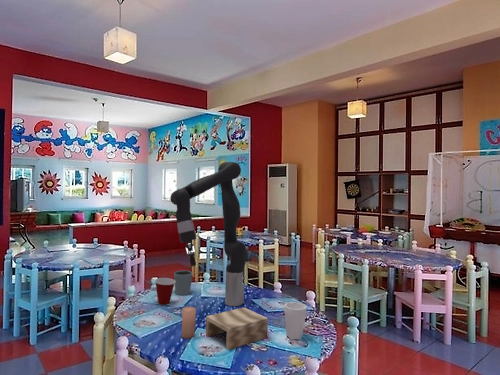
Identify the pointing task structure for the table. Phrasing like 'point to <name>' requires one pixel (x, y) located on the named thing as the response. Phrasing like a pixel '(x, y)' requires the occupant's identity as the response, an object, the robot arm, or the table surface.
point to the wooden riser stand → (238, 326)
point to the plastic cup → (164, 290)
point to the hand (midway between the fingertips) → (193, 265)
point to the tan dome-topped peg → (188, 322)
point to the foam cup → (295, 319)
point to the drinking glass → (182, 282)
